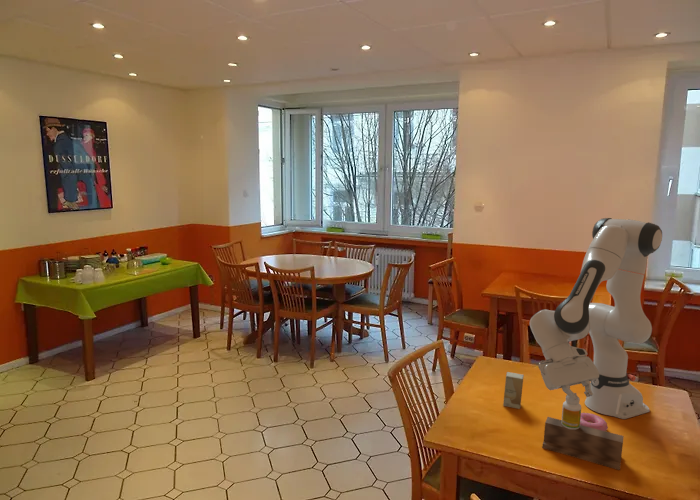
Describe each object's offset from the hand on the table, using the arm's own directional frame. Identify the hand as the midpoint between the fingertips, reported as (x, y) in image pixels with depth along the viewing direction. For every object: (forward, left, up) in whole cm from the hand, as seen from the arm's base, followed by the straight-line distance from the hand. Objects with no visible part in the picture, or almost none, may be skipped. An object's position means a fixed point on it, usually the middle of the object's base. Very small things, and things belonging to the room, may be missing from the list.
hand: (582, 397), depth 152 cm
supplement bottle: (+2, -2, -10) cm, 11 cm away
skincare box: (+3, -32, -19) cm, 38 cm away
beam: (-1, 0, -18) cm, 18 cm away
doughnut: (-14, -12, -19) cm, 26 cm away
